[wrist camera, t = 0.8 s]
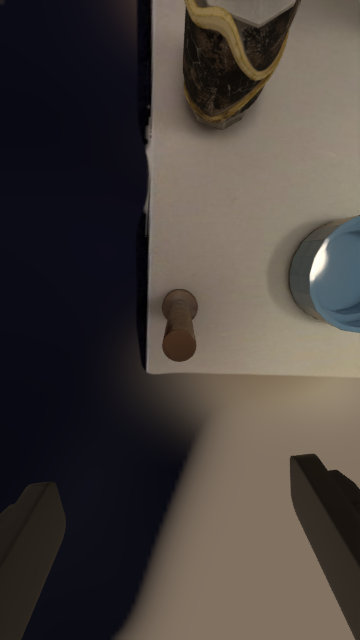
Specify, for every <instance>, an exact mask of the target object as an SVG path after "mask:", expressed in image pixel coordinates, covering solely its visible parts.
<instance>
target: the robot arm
mask: <svg viewBox="0 0 360 640" xmlns="http://www.w3.org/2000/svg"><path fill="white" fill-rule="evenodd" d="M290 480H291V497H292V502H293V506H294V509H295V512H296V514H297V517H298V519H299V521H300V523H301V525H302V527H303V529H304V532H305V534H306V536H307V538H308V540H309V542H310V544H311V546H312V548H313V551H314V553H315V555H316V557H317V559H318V561H319V563H320V565H321V568H322V570H323V572H324V574H325V576H326V578H327V580H328V583H329V585H330V587H331V589H332V591H333V593H334V595H335V597H336V600H337V601H338V604H339V606H340V607H341V610H342V612H343V614H344V616H345V619H346V621H347V623H348V625H349V627H350V629H351V631H352V633H353V636H354V638H355V640H360V489H359V488H358V487H357V485H356V484H355V483H354V482H353V481H351V480H350V479H349V478H347V477H346V476H345V475H343V474H342V473H340V472H339V471H338V470H330V471H328V470H327V469H326V468H325V466H324V465H323V463H322V462H321V461H320V459H319V458H318V457H317V456H316V455H315V454H305V455H296V456H291V457H290ZM65 521H66V520H65V514H64V511H63V507H62V504H61V500H60V496H59V493H58V489H57V486H56V484H55V483H54V482H47V483H37V484H30V485H29V486H27V487H26V489H25V490H24V492H23V493H22V494H21V496H20V497H19V499H18V501H17V502H16V503H15V504H12V505H10V506H9V507H8V508H6V510H4V511H3V512H2V513H1V514H0V640H21V638H22V635H23V633H24V631H25V629H26V626H27V624H28V621H29V619H30V617H31V614H32V611H33V609H34V607H35V605H36V602H37V600H38V597H39V595H40V593H41V590H42V588H43V585H44V583H45V580H46V578H47V576H48V573H49V571H50V568H51V566H52V563H53V561H54V559H55V556H56V554H57V552H58V549H59V547H60V544H61V542H62V539H63V536H64V532H65V524H66V522H65Z"/></svg>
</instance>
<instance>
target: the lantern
mask: <svg viewBox="0 0 360 640" xmlns="http://www.w3.org/2000/svg"><path fill="white" fill-rule="evenodd" d="M184 1H185V4H186V13H185V33H184V52H183V74H184V93H185V96H186V99H187V101H188V102H189V104H190V106H191V108H192V110H193V113H194V115H195V117H196V119H197V121H199V122H202V123H205V124H208V125H210V126H213V127H216V128H219V129H222V130H223V129H225V128H227V127H228V126H230V125H232V124H234V123H235V122H237V121H239V120H241V118H242V116H243V114H244V111H245V110H246V109H248V108H249V107H250V106H251V105H252V104H253V103H254V102H255V100H256V99H257V97H258V96H259V94H260V93H261V91H262V89H263V87H264V85H265V83H266V82H267V81H268V80H269V78H270V77H271V75H272V74H273V72H274V71H275V69H276V67H277V65H278V63H279V61H280V59H281V57H282V55H283V52H284V49H285V46H286V42H287V38H288V33H289V28H290V26H291V23H292V21H293V19H294V16H295V14H296V12H297V9H298V7H299V5H300V2H301V0H184Z"/></svg>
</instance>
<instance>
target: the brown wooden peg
mask: <svg viewBox="0 0 360 640" xmlns="http://www.w3.org/2000/svg"><path fill="white" fill-rule="evenodd" d="M197 309H198V306H197V302H196V299H195V297H194V296H193V295H192V294H191V293H190V292H189V291H187V290H184V289H176V290H173V291H171V292H170V293H168V294H167V296H166V297H165V299H164V301H163V304H162V311H163V314H164V316H165V318H166V319H167V324H166V329H165V334H164V339H163V344H162V347H163V351H164V353H165V355H166V356H167V357H168V358H169V359H171V360H173V361H177V362H182V361H186V360H188V359H189V358H191V357H192V356H193V354H194V353H195V350H196V340H195V334H194V329H193V323H192V320H193V319H194V317H195V316H196V314H197Z"/></svg>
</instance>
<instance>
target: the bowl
mask: <svg viewBox="0 0 360 640" xmlns="http://www.w3.org/2000/svg"><path fill="white" fill-rule="evenodd" d="M290 289H291V291H292V294H293V296H294V299H295V301H296V303H297V304H298V305H299V306H300V307H301V308H302V310H303V311H304V312H305V313H307V314H308V315H310V316H312V317H314V318H316V319H318V320H320V321H323V322H325V323H327V324H329V325H331V326H334V327H336V328H338V329H340V330H343V331H350V332H357V333H360V215H358V216H354V217H350V218H346V219H341V220H337V221H333V222H330V223H328V224H326V225H324V226H322V227H320V228H318V229H316V230H315V231H314V232H313V233H312V234H310V235H309V236H308V237H307V238H306V239H305V240H304V241H303V242H302V244H301V245H300V247H299V249H298V250H297V252H296V254H295V256H294V258H293V261H292V265H291V269H290Z"/></svg>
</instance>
